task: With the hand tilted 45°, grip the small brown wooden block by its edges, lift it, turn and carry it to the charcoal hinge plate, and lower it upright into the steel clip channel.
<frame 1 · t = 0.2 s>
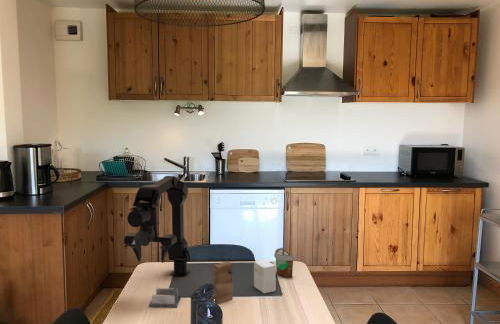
hand: (151, 262, 152), 15 cm above the table, tool pointing down, fingers open, 9 cm apart
small box: (264, 289, 164), on the table
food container: (281, 274, 180), on the table
hinge base: (165, 302, 151), on the table
brown wooden block: (223, 300, 154), on the table
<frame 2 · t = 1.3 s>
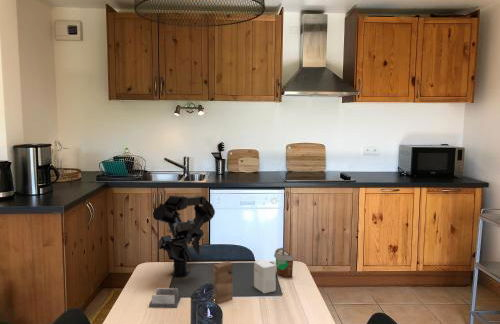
hand: (188, 256, 164), 12 cm above the table, tool tilted 45°, fingers open, 9 cm apart
nothing on the table moved.
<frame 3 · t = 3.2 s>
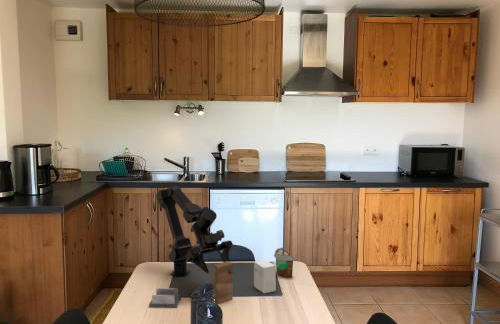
hand: (218, 270, 155), 11 cm above the table, tool tilted 45°, fingers open, 9 cm apart
nothing on the table moved.
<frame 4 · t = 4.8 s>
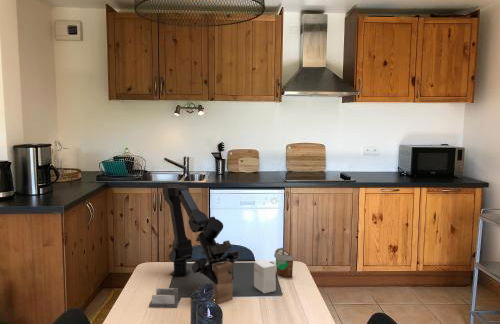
hand: (225, 281, 152), 8 cm above the table, tool tilted 45°, fingers closed on brown wooden block, 6 cm apart
brown wooden block: (223, 300, 154), on the table, touching gripper
everything else where it was.
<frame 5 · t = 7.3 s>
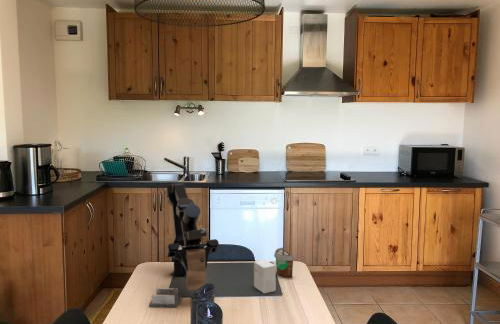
hand: (196, 269, 148), 13 cm above the table, tool tilted 45°, fingers closed on brown wooden block, 6 cm apart
brown wooden block: (195, 288, 150), point 6 cm above the table, touching gripper
everything else where it was.
when the fingers open (10 cm above the table, at t = 9.7 s): brown wooden block drops 1 cm, resting on hinge base.
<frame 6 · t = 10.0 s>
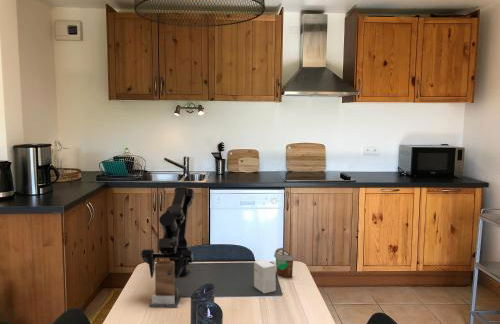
hand: (164, 277, 149), 10 cm above the table, tool tilted 45°, fingers open, 9 cm apart
brown wooden block: (165, 299, 151), point 1 cm above the table, touching hinge base
everything else where it was.
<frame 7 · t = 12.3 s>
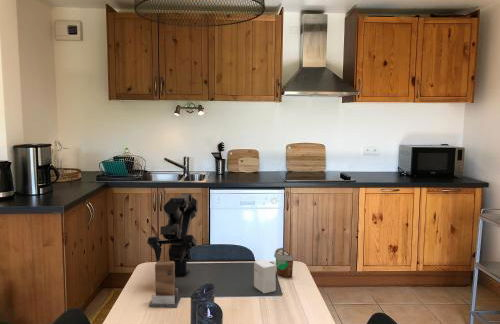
hand: (168, 262, 158), 12 cm above the table, tool tilted 40°, fingers open, 9 cm apart
nothing on the table moved.
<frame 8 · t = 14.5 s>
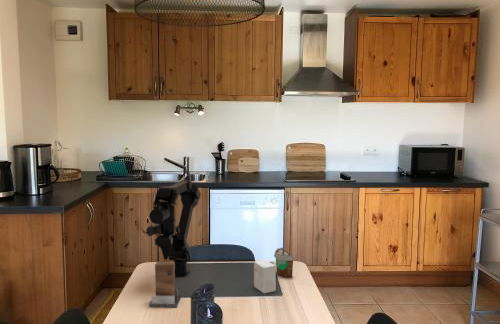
hand: (168, 255, 167), 12 cm above the table, tool pointing down, fingers open, 9 cm apart
nothing on the table moved.
at the end: brown wooden block 0.0 cm off-centre on the hinge base, point 1.0 cm above the hinge base's base; brown wooden block tilted 0°; the gripper is holding nothing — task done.
